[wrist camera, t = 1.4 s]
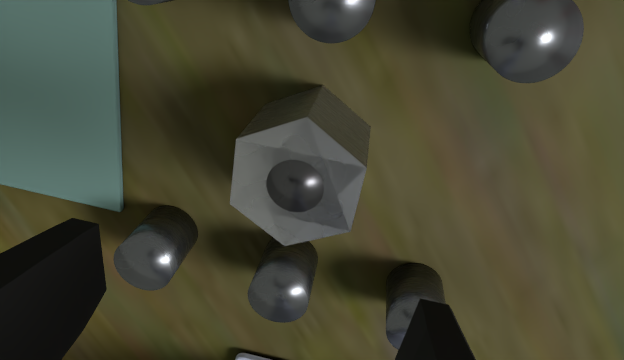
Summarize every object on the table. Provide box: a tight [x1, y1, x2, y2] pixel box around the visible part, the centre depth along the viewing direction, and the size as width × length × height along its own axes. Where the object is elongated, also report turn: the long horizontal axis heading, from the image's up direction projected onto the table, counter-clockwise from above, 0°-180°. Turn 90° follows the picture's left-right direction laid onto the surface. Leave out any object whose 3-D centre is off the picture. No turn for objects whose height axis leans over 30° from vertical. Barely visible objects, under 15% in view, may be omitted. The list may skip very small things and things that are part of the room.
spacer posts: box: [114, 0, 584, 350], centre depth 17 cm, size 15×15×3 cm
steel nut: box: [230, 85, 371, 246], centre depth 17 cm, size 5×4×4 cm
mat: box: [0, 0, 124, 212], centre depth 19 cm, size 11×7×1 cm, turn 170°
